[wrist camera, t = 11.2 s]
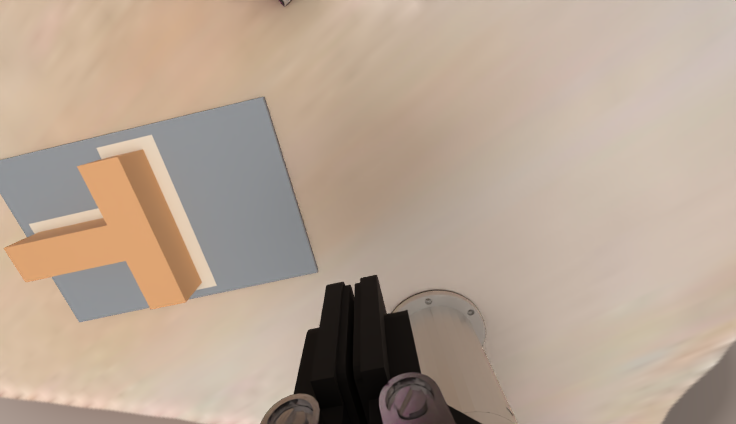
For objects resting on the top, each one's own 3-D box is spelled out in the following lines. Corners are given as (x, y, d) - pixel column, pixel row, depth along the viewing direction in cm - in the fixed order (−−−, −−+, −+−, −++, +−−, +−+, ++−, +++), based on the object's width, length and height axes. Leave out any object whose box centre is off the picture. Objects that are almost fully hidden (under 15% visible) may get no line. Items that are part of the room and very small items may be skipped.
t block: (201, 282, 41) (186, 302, 37) (82, 307, 42) (55, 329, 38) (143, 149, 36) (117, 156, 32) (7, 180, 36) (-33, 191, 33)
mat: (318, 270, 41) (317, 272, 41) (82, 319, 43) (79, 322, 43) (264, 96, 35) (262, 97, 34) (-13, 163, 36) (-18, 164, 36)
